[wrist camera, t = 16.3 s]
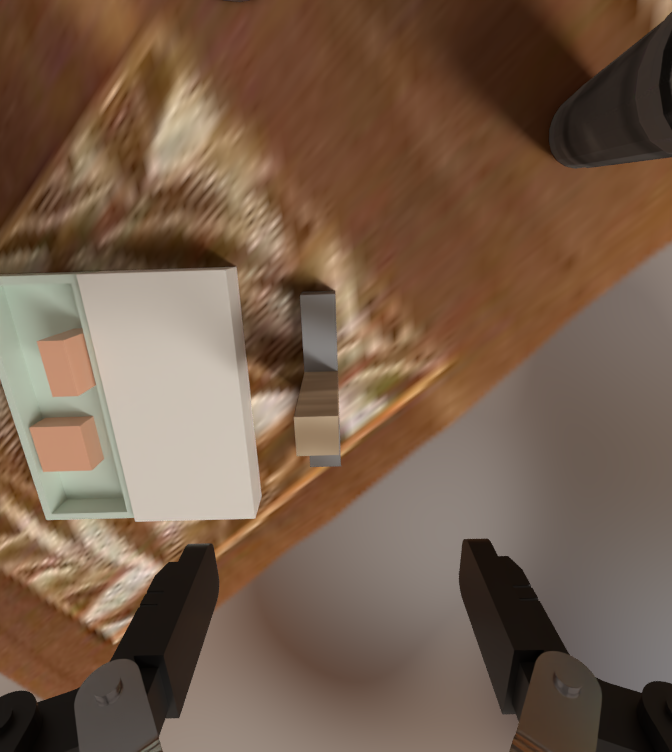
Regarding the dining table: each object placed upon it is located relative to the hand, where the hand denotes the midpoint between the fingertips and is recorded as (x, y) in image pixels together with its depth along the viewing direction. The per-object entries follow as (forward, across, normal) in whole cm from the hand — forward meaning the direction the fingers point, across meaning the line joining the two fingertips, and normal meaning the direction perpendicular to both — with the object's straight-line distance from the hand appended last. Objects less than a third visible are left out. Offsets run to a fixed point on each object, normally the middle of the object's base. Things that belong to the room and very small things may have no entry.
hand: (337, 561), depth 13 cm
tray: (+20, +21, +2) cm, 29 cm away
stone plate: (+20, +12, +2) cm, 24 cm away
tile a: (+18, +18, -2) cm, 25 cm away
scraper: (+20, +1, +1) cm, 20 cm away
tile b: (+18, +22, +6) cm, 29 cm away
